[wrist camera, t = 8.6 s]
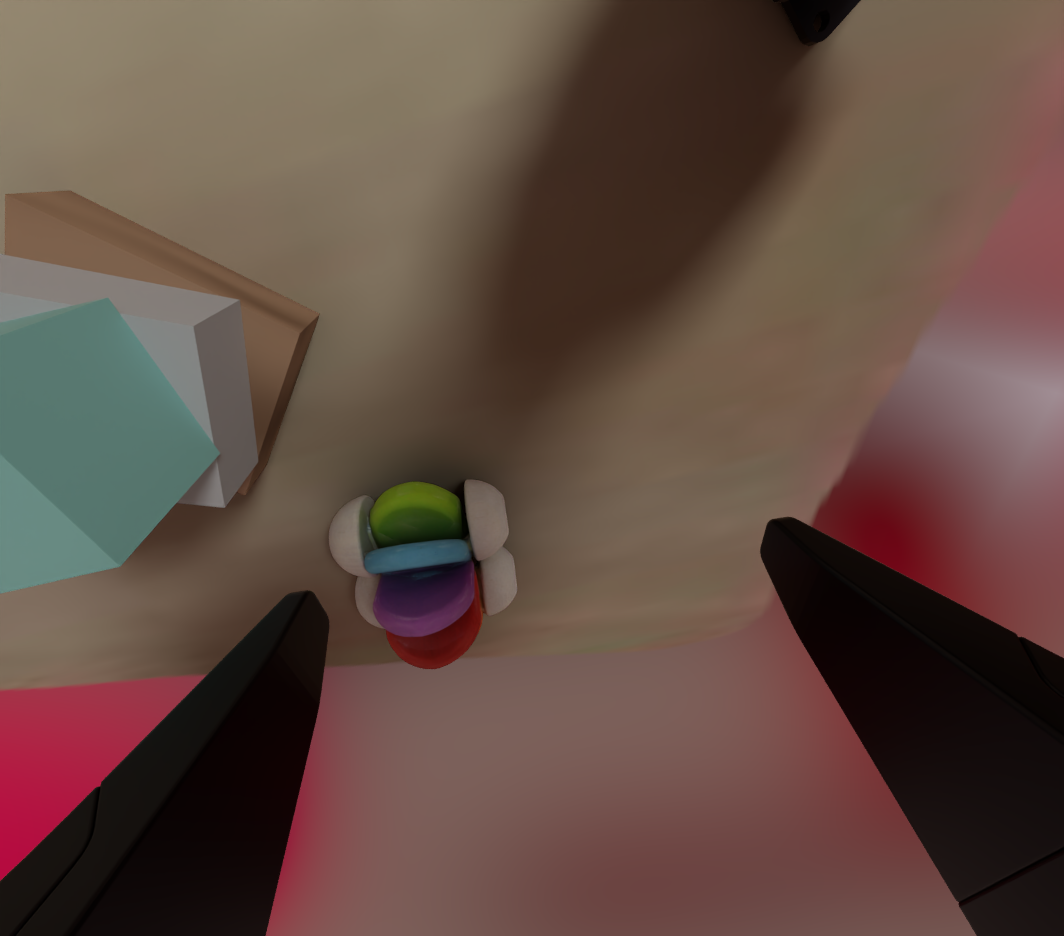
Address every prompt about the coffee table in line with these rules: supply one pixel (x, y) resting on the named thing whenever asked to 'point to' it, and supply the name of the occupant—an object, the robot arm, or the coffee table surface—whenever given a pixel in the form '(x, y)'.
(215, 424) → the tower mid
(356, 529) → the rainbow segmented toy
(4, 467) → the teal cube
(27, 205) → the tower base
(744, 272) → the coffee table surface
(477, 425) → the coffee table surface
